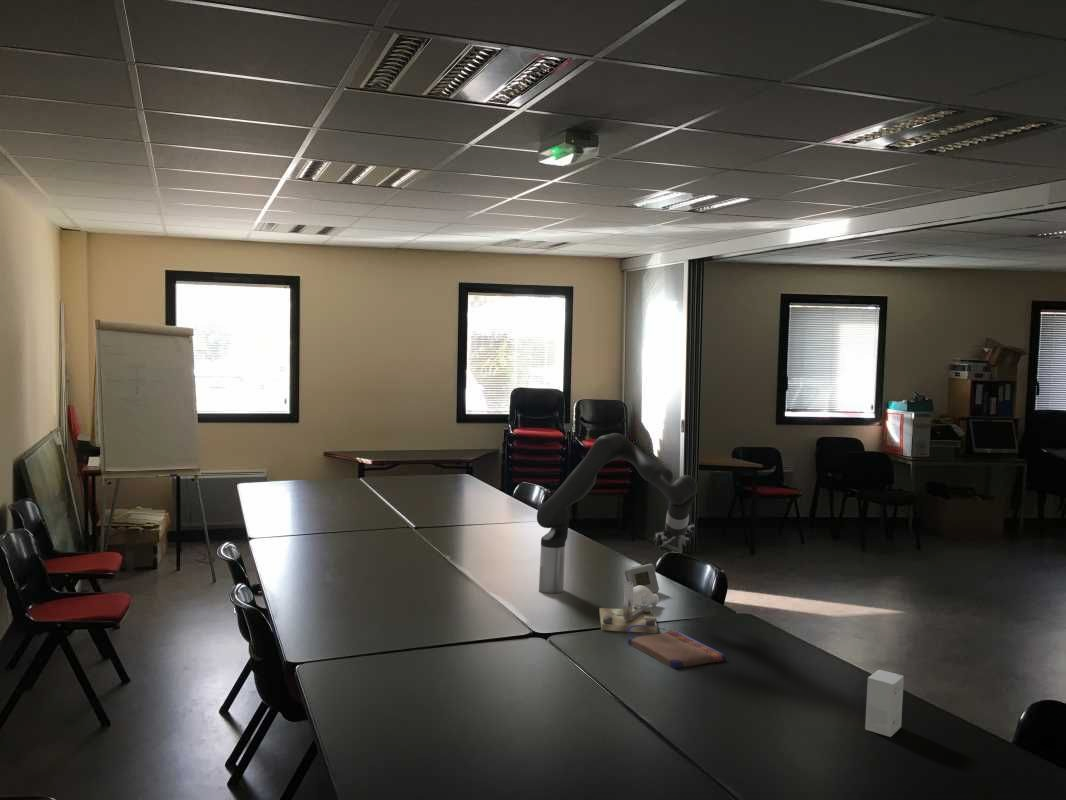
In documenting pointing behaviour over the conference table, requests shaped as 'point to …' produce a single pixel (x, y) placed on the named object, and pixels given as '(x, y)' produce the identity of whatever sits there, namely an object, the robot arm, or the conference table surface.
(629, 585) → the footscrew lever
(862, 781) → the conference table surface
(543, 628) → the conference table surface
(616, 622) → the tribrach base
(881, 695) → the small box
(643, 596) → the white lumpy figure
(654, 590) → the digital clock
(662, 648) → the clutch
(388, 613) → the conference table surface
